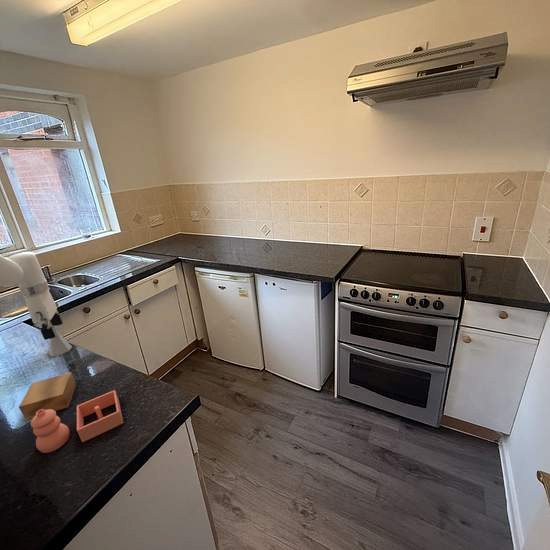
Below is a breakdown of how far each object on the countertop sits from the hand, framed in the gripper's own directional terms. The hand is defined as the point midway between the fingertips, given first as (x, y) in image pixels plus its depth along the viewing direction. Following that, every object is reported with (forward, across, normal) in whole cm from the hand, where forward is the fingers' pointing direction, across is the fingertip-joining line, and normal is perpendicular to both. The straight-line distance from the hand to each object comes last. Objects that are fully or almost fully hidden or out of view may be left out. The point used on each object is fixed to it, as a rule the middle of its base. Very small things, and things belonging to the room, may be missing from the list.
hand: (54, 331), depth 107 cm
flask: (+8, 0, 0) cm, 9 cm away
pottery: (+8, +46, +15) cm, 49 cm away
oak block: (+8, +30, +5) cm, 32 cm away
